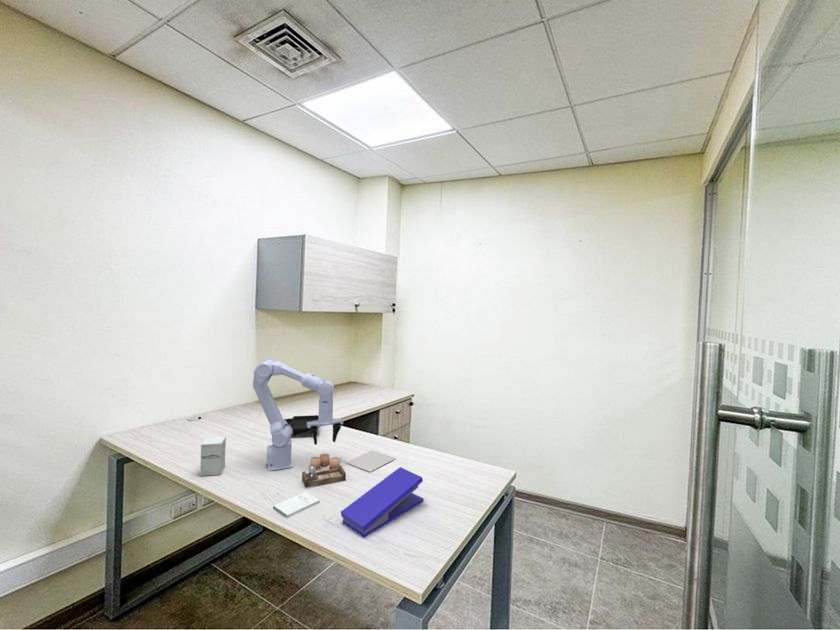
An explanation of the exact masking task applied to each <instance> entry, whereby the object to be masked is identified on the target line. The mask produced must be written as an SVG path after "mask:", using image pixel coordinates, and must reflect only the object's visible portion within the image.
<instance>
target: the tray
mask: <svg viewBox="0 0 840 630" xmlns="http://www.w3.org/2000/svg"><path fill="white" fill-rule="evenodd" d="M318 417H319V414H317V415H313V414H312V415H293V417H291V418H290V417H289V418H283V419H284V420H286V422H287V424H288V425H289V426H291V427H292V429H293V434H292V436H291V437H294V436H295V437H296V436H298V435H302V434H305V433H312V432H311V430H310V428H307V422H311V421H315V420H318ZM319 427H320V426H317V430H318V429H319ZM318 431H319V430H318ZM291 437H290V438H291Z"/></svg>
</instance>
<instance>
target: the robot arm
mask: <svg viewBox="0 0 840 630" xmlns="http://www.w3.org/2000/svg"><path fill="white" fill-rule="evenodd" d="M281 375H283V376H285V377H287V378H290V379H293V380H296V381H298V382H300V384H301V386H302V387H304V388H306V389H308V390H311V391H313V392H315V393H317V394H318V395H319V398H318V415H319V417H318V420H315V421H311V422H307V428H310V430H311V432H310V433H311V434H312V439H313V444H314V445H315V446H316V445H318V431H319V430H317V426H319V427H324V426H325V427H326V426H332V442H333V443H336V442H337V441H336V440H337V437H338V434H339V433H340V430H341V429H342V425H344V419H343V418H334V417H333V414H334V412H333V411H334V399H333V398H334V393H333V392H334V391H335V390H334V389H335V384H334V383H333V381H331V380H330V379H326V378H324V377H322V378H321V377H318V376H316V375H315V373H314V372H311V373H308V372H307V373H303V372H301V371H298V370H297V369H294V368H292V367H290V366H289V365H287V364H284V363H283V362H281V361H279V360H275V359H273V358H267V359H265V360H264V361H262V362H260V363H258V364H257V365H256V367H255V369H253V381H252V388H253V390H254V392H255V394H256V396H257V399H258V401H259V403H260V406H261V407H262V409H263V412H264V414H265V417H266V418H267V421H268V423H269V425H270V434H271V443H272V444H270V445H267V451H266V465H267V466H266V467H267V470H268V472H271V471H272V472H273V471H278V470H279V471H280V470H283V469H290V468H291V469H292V468H294V464H293V461H292V446H293V445H292V440H291V436H292V434H293V429H292V427H291V426H289V425H288V424H287V422H286V420H284V419H285V418H283V416H282V414H281V412H280V409H279V407H278V404H277V403H276V401H275V400H276V399H275V398H274V396H273V393H272V391H271V389H270V387H269V385H268V384H269V382H270V380H271V379H272V378H271V377H276V376H281ZM292 437H293V436H292Z"/></svg>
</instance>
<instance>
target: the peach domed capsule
mask: <svg viewBox="0 0 840 630" xmlns="http://www.w3.org/2000/svg"><path fill="white" fill-rule="evenodd" d="M311 465H315V466H316V471H315V472H318V471H320V470H321V467H320V466H321V458H320V457H319V456H314V457H311V458H310V466H311Z"/></svg>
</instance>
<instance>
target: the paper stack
mask: <svg viewBox="0 0 840 630" xmlns="http://www.w3.org/2000/svg"><path fill="white" fill-rule="evenodd" d="M395 459H397V458H396V457H393V456H390V455H387V454H385V453H382V452H378V451H376V450H373V449H372V450H369V451H367V452H366V453H363V454H361V455H359V456H356V457H354V458H353V459H350V460H348V461H345V463H346V464H349V465H352V466H354V467H357V468H359V469H362V470H365V471H367V472H369V473H370V472H373V471H375V470H377V469H379V468H380V467H382V466H384V465H386V464H388V463H390V462H392V461H394V460H395Z"/></svg>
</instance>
